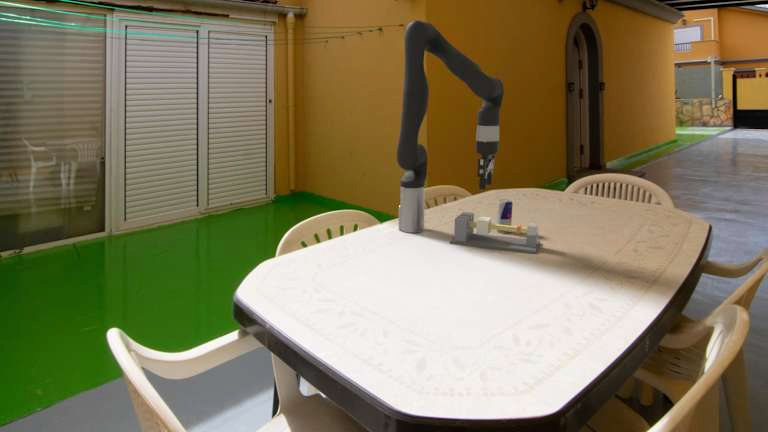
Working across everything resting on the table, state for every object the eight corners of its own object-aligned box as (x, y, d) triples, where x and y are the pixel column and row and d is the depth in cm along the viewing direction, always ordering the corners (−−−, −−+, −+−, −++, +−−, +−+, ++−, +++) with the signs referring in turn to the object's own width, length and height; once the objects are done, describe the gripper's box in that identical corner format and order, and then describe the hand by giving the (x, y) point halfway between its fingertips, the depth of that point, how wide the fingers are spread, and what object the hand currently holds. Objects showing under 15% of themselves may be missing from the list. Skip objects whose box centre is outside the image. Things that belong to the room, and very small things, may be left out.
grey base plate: (449, 243, 161) (449, 240, 161) (459, 234, 172) (459, 231, 171) (535, 253, 149) (535, 251, 149) (540, 243, 159) (540, 240, 159)
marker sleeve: (476, 233, 160) (476, 220, 158) (479, 230, 164) (480, 216, 163) (487, 235, 158) (488, 221, 157) (490, 231, 162) (491, 217, 161)
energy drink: (511, 233, 171) (513, 202, 168) (496, 233, 172) (498, 202, 169) (510, 229, 176) (512, 199, 173) (496, 229, 177) (497, 199, 174)
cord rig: (454, 240, 161) (454, 218, 159) (462, 232, 170) (463, 211, 168) (534, 250, 149) (535, 226, 147) (538, 240, 159) (540, 218, 157)
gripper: (481, 137, 161) (479, 182, 165) (471, 140, 148) (469, 189, 152) (503, 137, 158) (500, 184, 162) (494, 141, 145) (491, 191, 149)
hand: (485, 186), depth 157 cm, fingers open, 8 cm apart
